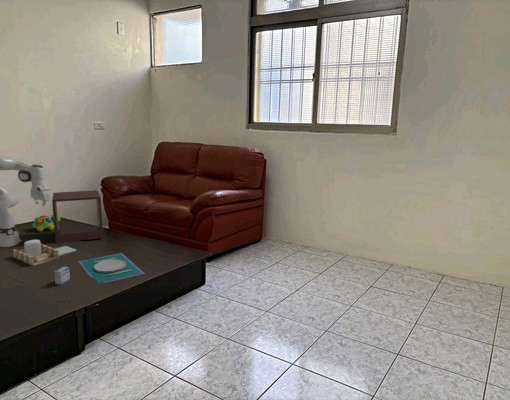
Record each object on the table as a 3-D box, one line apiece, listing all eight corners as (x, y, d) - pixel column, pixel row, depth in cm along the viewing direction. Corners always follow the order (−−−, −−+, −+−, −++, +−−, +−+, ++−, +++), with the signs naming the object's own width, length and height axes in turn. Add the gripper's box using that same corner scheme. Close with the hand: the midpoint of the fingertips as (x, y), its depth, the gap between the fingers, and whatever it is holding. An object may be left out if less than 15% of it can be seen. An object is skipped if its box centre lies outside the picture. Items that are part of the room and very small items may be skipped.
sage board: (47, 251, 280) (47, 250, 280) (65, 246, 292) (65, 245, 291) (58, 256, 273) (58, 255, 272) (76, 250, 284) (76, 249, 284)
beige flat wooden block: (32, 263, 259) (31, 261, 259) (46, 258, 270) (46, 255, 270) (37, 264, 258) (37, 262, 257) (52, 259, 269) (51, 256, 268)
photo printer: (41, 254, 275) (39, 238, 272) (42, 256, 272) (40, 239, 269) (24, 257, 269) (22, 240, 266) (25, 259, 265) (24, 242, 263)
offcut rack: (13, 257, 268) (12, 249, 266) (39, 250, 283) (38, 242, 281) (32, 266, 254) (31, 257, 252) (59, 258, 269) (58, 250, 267)
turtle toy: (64, 227, 339) (63, 215, 337) (35, 232, 323) (34, 219, 320) (57, 223, 351) (56, 211, 348) (29, 228, 335) (28, 215, 332)
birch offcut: (33, 260, 259) (33, 258, 259) (45, 255, 269) (44, 253, 268) (38, 261, 258) (38, 258, 258) (49, 256, 268) (49, 253, 267)
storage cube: (100, 228, 340) (97, 190, 333) (103, 237, 315) (100, 196, 307) (56, 232, 325) (53, 192, 318) (55, 242, 300) (52, 199, 292)
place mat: (78, 262, 264) (77, 259, 264) (121, 254, 282) (121, 251, 282) (96, 285, 230) (96, 282, 229) (144, 274, 248) (144, 271, 247)
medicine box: (61, 285, 227) (60, 272, 225) (55, 284, 228) (54, 271, 226) (70, 280, 235) (69, 266, 233) (63, 279, 235) (62, 266, 233)
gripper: (27, 185, 280) (28, 203, 283) (42, 189, 270) (43, 208, 273) (36, 184, 286) (37, 202, 289) (50, 188, 275) (52, 206, 278)
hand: (40, 205), depth 281 cm, fingers open, 8 cm apart
